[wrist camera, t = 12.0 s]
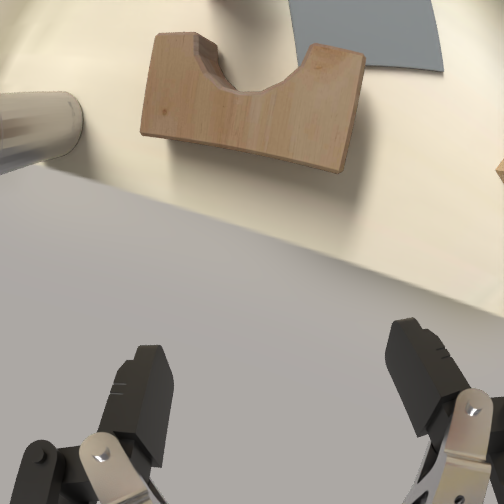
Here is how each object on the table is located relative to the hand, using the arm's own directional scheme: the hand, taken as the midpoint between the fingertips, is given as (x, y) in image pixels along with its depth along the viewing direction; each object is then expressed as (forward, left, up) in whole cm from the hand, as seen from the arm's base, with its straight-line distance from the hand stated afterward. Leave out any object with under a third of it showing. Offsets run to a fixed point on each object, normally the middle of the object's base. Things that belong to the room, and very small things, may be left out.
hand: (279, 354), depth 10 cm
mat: (+11, +24, -27) cm, 38 cm away
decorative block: (+7, +8, -21) cm, 23 cm away
